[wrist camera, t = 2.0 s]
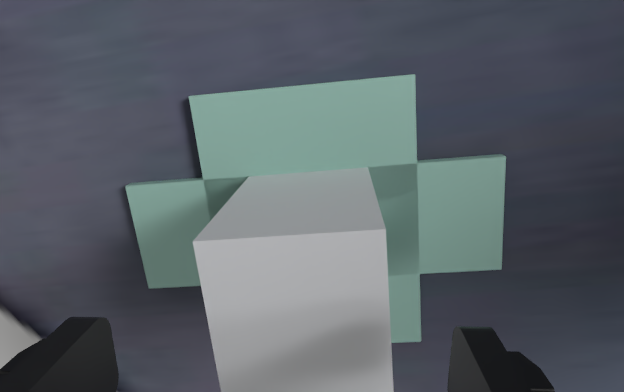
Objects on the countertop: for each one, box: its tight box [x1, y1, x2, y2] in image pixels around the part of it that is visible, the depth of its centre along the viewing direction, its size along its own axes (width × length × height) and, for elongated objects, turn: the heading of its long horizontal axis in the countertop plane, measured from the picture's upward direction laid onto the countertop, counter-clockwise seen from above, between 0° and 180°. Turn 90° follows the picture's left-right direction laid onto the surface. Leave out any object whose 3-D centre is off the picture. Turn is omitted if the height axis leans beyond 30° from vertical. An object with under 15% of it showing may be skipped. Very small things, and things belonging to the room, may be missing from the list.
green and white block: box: [125, 74, 506, 392], centre depth 15 cm, size 16×12×8 cm
